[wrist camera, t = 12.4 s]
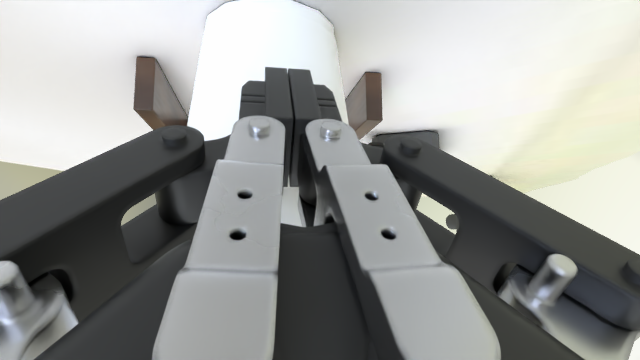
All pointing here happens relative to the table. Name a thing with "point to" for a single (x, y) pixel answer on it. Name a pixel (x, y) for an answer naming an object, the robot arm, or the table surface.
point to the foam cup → (260, 64)
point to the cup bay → (165, 110)
